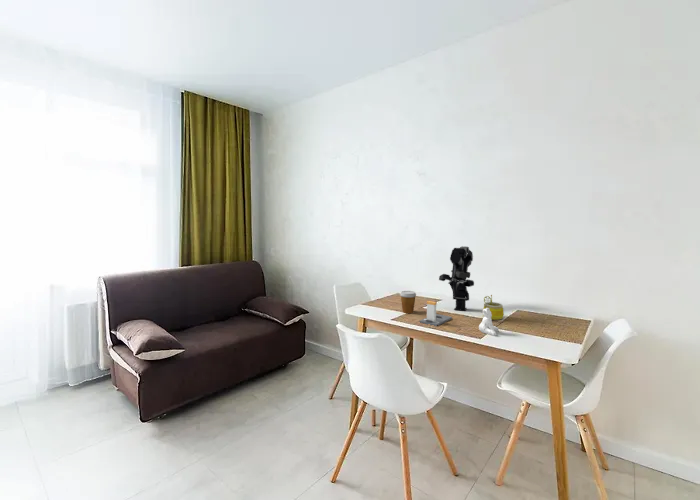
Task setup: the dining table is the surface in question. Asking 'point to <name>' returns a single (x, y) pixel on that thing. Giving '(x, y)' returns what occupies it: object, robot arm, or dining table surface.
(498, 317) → the yellow round tub
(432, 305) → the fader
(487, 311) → the seated beast figurine
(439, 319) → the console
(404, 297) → the disposable coffee cup
